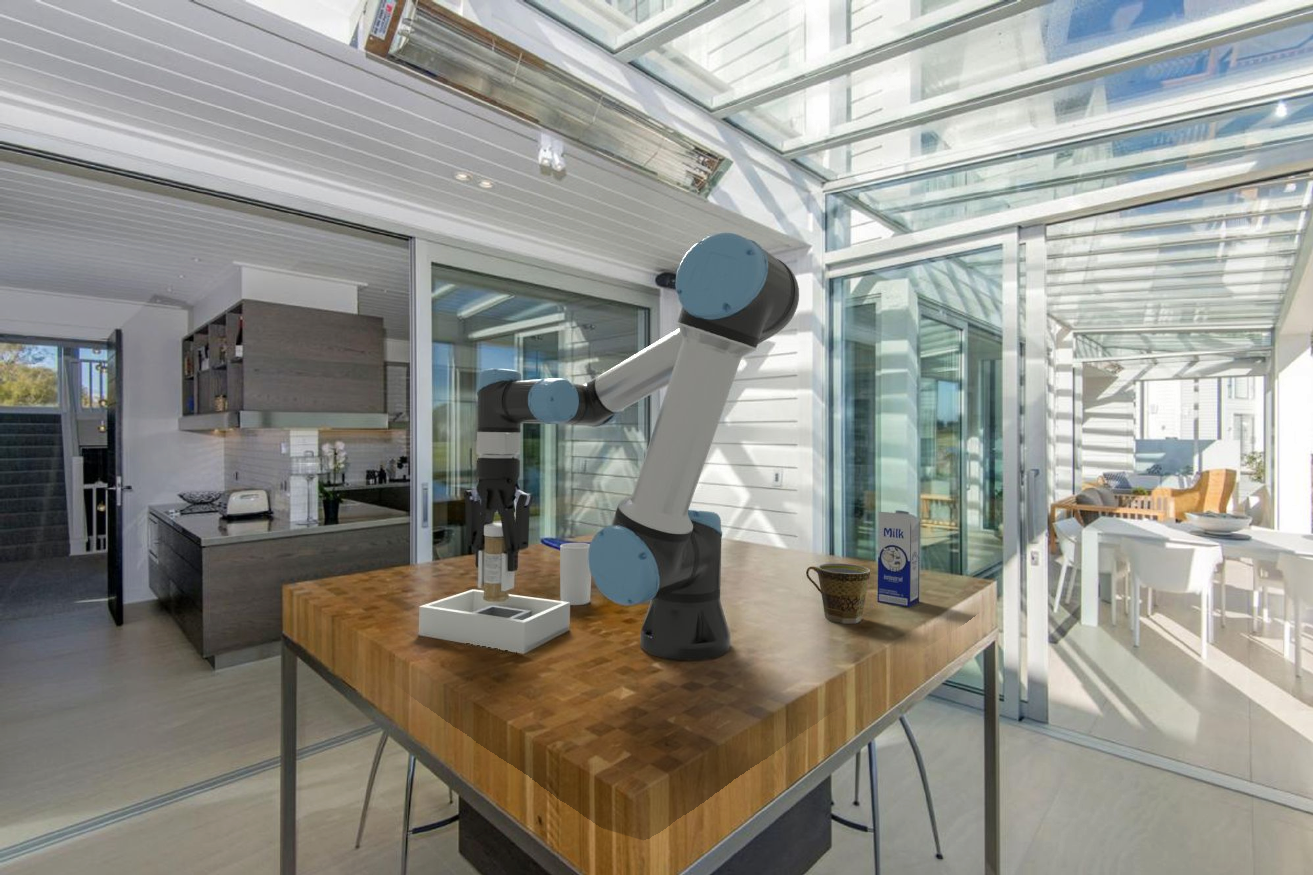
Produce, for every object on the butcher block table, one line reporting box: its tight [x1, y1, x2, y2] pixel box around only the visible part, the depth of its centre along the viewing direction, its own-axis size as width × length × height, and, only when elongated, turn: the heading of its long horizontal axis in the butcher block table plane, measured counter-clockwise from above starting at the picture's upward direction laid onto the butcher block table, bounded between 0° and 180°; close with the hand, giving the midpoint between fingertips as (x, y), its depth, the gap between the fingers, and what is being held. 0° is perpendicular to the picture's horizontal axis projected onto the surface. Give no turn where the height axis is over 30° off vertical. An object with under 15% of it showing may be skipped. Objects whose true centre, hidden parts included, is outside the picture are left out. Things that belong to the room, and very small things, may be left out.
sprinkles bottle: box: [483, 522, 510, 602], centre depth 110 cm, size 5×5×14 cm
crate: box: [418, 588, 571, 655], centre depth 109 cm, size 22×14×5 cm, turn 67°
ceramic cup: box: [805, 562, 871, 625], centre depth 122 cm, size 13×10×10 cm
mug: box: [559, 542, 592, 606], centre depth 133 cm, size 10×7×12 cm, turn 4°
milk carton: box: [877, 509, 921, 608], centre depth 135 cm, size 7×7×20 cm
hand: (496, 587), depth 110 cm, fingers closed on sprinkles bottle, 4 cm apart
